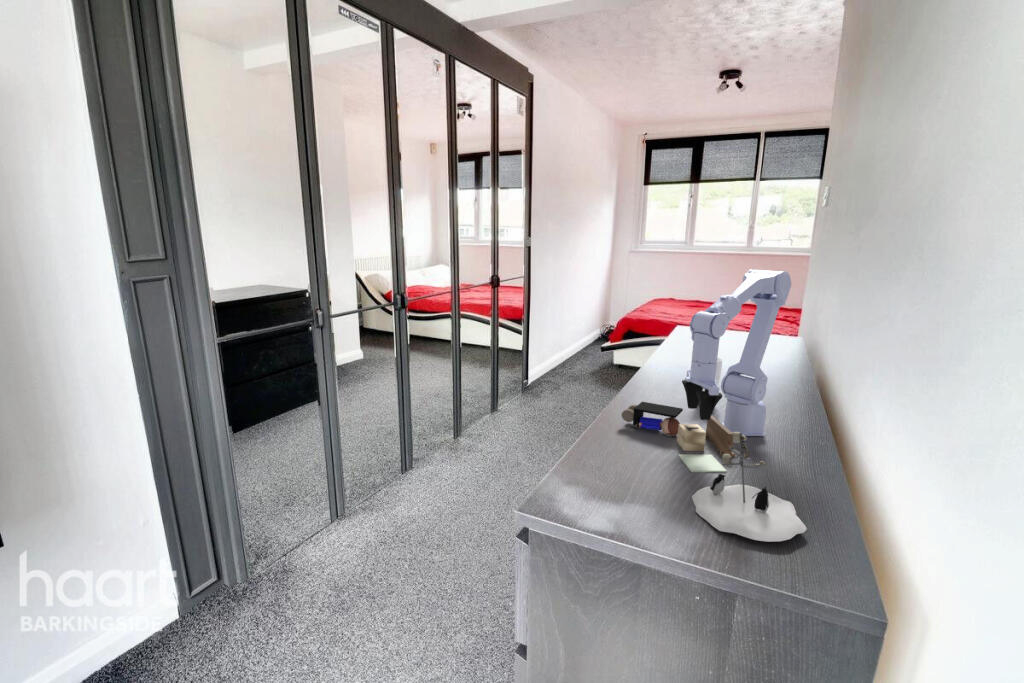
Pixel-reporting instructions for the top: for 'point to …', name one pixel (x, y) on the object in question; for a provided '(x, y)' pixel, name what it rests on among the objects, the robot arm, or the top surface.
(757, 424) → the robot arm
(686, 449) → the letter cube
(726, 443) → the brown piece
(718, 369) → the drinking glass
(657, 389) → the top surface
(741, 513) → the figurine
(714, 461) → the pad
